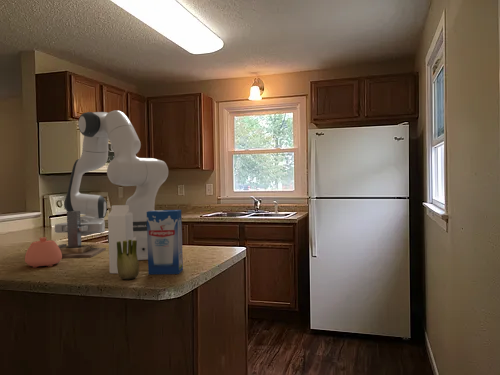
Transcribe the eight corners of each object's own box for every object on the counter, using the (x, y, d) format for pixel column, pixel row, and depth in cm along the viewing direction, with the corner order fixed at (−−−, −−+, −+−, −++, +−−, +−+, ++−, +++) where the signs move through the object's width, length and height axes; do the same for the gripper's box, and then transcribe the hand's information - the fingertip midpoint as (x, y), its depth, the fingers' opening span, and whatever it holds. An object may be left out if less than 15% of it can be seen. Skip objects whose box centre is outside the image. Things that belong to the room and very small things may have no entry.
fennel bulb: (115, 280, 129) (114, 240, 128) (124, 276, 133) (123, 238, 133) (133, 281, 127) (132, 241, 127) (141, 277, 132) (140, 238, 132)
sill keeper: (105, 249, 188) (105, 242, 188) (91, 257, 170) (91, 249, 170) (55, 251, 187) (55, 244, 187) (35, 258, 169) (35, 251, 169)
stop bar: (81, 248, 181) (80, 210, 180) (77, 250, 177) (76, 211, 176) (72, 248, 181) (70, 211, 180) (68, 250, 177) (66, 211, 176)
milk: (127, 273, 138) (125, 205, 137) (109, 273, 139) (107, 205, 138) (134, 269, 144) (132, 204, 143) (117, 269, 145) (115, 204, 144)
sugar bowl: (21, 270, 148) (20, 240, 148) (30, 262, 162) (29, 235, 161) (59, 267, 151) (58, 238, 151) (65, 260, 165) (64, 233, 165)
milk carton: (148, 274, 136) (146, 211, 135) (153, 270, 142) (151, 210, 142) (179, 274, 135) (177, 211, 135) (183, 269, 142) (181, 209, 141)
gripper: (61, 219, 191) (47, 222, 177) (107, 218, 191) (97, 221, 178) (62, 233, 191) (48, 237, 177) (108, 232, 192) (98, 236, 178)
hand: (73, 229), depth 177 cm, fingers closed on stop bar, 4 cm apart
